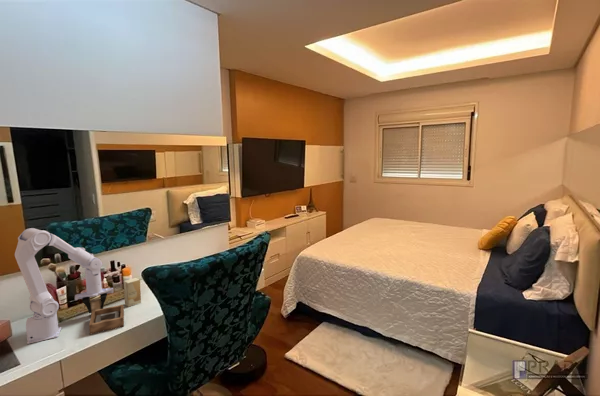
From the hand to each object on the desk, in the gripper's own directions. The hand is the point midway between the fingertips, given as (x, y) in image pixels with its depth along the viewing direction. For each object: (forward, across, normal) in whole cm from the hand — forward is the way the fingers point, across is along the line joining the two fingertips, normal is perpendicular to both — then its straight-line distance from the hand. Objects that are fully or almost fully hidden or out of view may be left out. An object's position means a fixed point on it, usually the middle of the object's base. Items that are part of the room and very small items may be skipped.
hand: (96, 310), depth 140 cm
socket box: (+2, +5, -11) cm, 12 cm away
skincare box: (+2, +15, +4) cm, 16 cm away
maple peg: (+2, 0, 0) cm, 2 cm away
